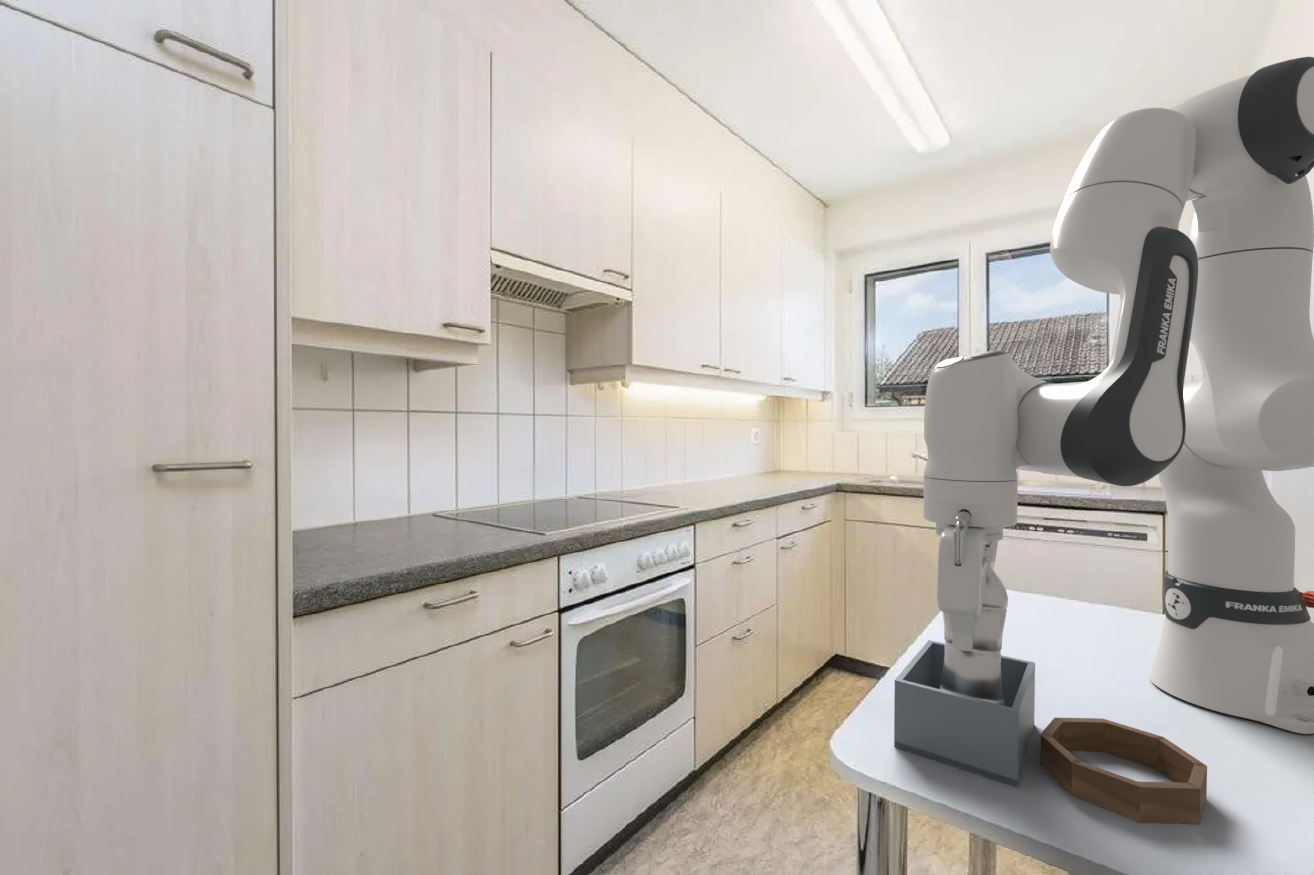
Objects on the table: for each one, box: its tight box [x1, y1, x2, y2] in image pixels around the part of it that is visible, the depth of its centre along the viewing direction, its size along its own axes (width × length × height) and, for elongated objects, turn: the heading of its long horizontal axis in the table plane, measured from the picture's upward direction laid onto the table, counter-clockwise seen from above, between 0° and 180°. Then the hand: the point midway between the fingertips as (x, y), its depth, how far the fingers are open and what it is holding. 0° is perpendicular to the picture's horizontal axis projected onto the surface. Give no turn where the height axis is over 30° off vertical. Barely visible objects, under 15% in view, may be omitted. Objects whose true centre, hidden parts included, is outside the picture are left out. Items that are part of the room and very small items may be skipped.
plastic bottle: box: [940, 544, 1009, 706], centre depth 61 cm, size 6×7×20 cm
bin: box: [893, 639, 1036, 788], centre depth 63 cm, size 14×11×7 cm
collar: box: [1039, 717, 1208, 825], centre depth 55 cm, size 12×12×3 cm
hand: (967, 633), depth 63 cm, fingers open, 8 cm apart
